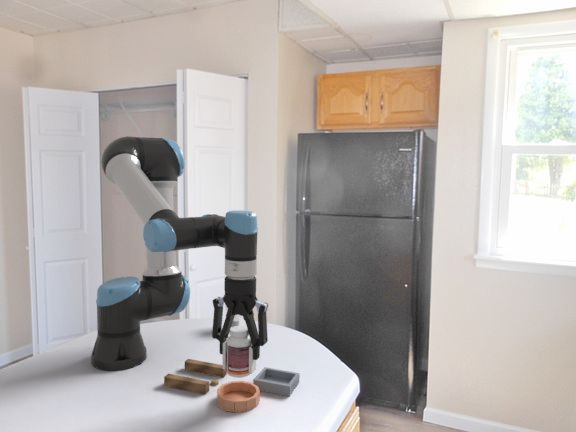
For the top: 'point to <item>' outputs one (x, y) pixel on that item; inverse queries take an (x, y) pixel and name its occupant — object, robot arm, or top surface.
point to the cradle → (192, 383)
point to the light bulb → (236, 319)
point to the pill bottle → (238, 352)
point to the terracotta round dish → (238, 396)
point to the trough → (277, 381)
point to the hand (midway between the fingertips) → (239, 369)
